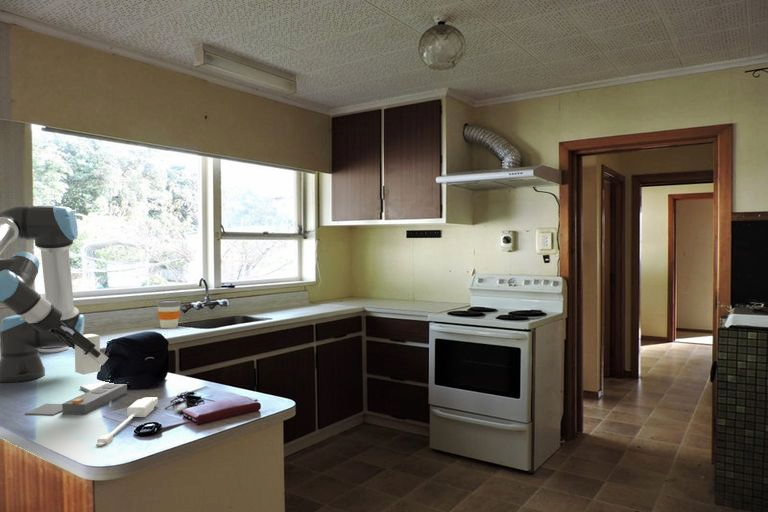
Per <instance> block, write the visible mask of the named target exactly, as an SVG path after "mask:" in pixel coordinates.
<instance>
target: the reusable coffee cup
mask: <svg viewBox="0 0 768 512" xmlns="http://www.w3.org/2000/svg"><path fill="white" fill-rule="evenodd" d="M156 307H157V317H158V320H159V326H160V329H175V328H178V324H179V319H180V314H181V310H180V309H181V308H180V307H181V300H179V299H164V300H163V299H162V300H157V302H156Z"/></svg>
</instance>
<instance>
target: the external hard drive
mask: <svg viewBox="0 0 768 512" xmlns="http://www.w3.org/2000/svg"><path fill="white" fill-rule="evenodd" d="M106 383H109V382H105V381H100V382H95V383H89V384H84V385H80V388H79V389H80V390H81V389H82V390H81V391H83V390H84V391H83V392H85V391H86V392H85V393H87V392H89V391H91V390H93V389H95V388H98V387H100V386H102V385H104V384H106ZM111 384H114V383H111Z"/></svg>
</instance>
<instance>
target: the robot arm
mask: <svg viewBox="0 0 768 512" xmlns="http://www.w3.org/2000/svg"><path fill="white" fill-rule="evenodd" d="M78 235H79V232H78V223H77V217H76V215H75V213H74V211H73V210H72V208H70V207H66V206H58V205H53V206H52V205H51V206H49V205H17V206H12V207H9V208H6V209H4V210H2V211H0V256H1V255H2V254H3V252H4V251H5V249H6V248H7V246H8V245H9V244H12V243H13V242H15V241H17V240H33V241H34V245H35V247H36V248H38V249H39V250H40V257H41V264H42V265H41V267H42V274H43V275H42V276H43V285H44V294H45V295H44V296H45V297H44V296H43V295H41V294H40V293H39V292H38V291H36V290H35V289H34V288H33V284H34V283H35V280H36V278H37V275H38V273H39V268H40V260H39V258H38V257H37V256H36V255H34V254H33V253H31V252H27V251H19V252H16V253H14V254H13V255H12V256H11V257H10V258H0V303H1V304H3V305H4V306H5V307H7V308H8V309H9V310H11V311H12V312H13V313H15V314H14V315H10V316H7V317H4V318H3V319H1V321H0V355H1V356H0V383H18V382H19V381H20V382H26V380H27V381H31V379H32V380H36V379H39V378H42V377H44V376H46V371H45V370H46V368H45V366H44V364H43V362H42V359H41V356H40V351H39V348H46V347H64V346H66V347H69V348H71V349H73V350H75V345H77V346H78V347H80V348H81V349H83V350H84V351H85V353H84V354H85V355H87V354H88V355H89V356H90V357H92V358H93V359H94V360H95V361H97V362H98V363H99V364H100V366H103V365H105V363H106V362H107V360H108V359H109V357H108V356H107V355H106V354H104V353H103V352H101V350H100V351H99V350H98V349H97V348H95V344H93V343H92V342H90V341H89V340H88V339H87V338H85V337H84V336H83V335H84V330H85V315H84V314H80V310H79V308H77V307H76V306H75V305H74V294H73V283H72V272H71V271H72V270H71V261H70V260H71V258H70V249H69V248H70V247H71V246H72V245H74V240H77V238H78ZM43 375H44V376H43ZM41 376H42V377H41ZM35 378H36V379H35ZM20 382H19V383H20Z"/></svg>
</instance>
